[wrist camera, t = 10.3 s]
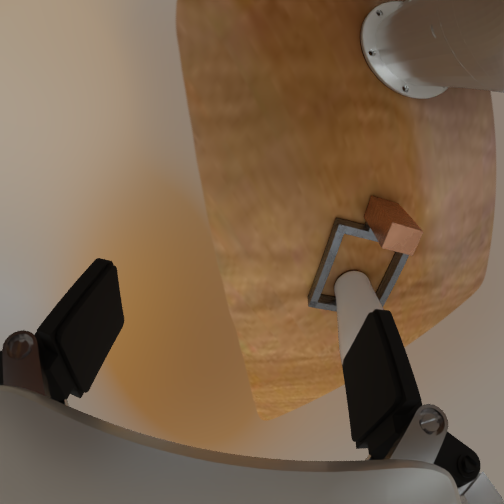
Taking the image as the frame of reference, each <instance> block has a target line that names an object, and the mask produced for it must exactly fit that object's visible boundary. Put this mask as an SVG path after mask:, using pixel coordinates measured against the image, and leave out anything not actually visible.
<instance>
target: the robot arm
mask: <svg viewBox="0 0 504 504" xmlns="http://www.w3.org/2000/svg"><path fill="white" fill-rule="evenodd" d="M376 13H378V14H379V16H378V15H377V14H376ZM361 46H362V51H363V54H364V57H365V59H366V62H367V63H368V65H369V67H370V68H371V70H372V71H373V73H374V74H375V75H376V76H377V78H378V79H379V80H380V81H382V82H383V83H384V84H385V85H386V86H387V87H389V88H390V89H392V90H393V91H395V92H397V93H399V94H401V95H403V96H407V97H411V98H418V99H428V98H432V97H436V96H438V95H439V94H441V93H443V92H444V91H445V90H447V88H448V87H455V88H468V89H479V90H487V91H496V92H504V0H406V1H404V2H402V1H390V2H386V3H383V4H381V5H379V6H377V7H375V8H374V9H373V10H372V11H371V12H370V13H369V14H368V15H367V16H366V18H365V20H364V22H363V24H362V28H361ZM368 52H371V53H372V55H369V53H368ZM402 87H404V90H402ZM123 324H124V315H123V310H122V303H121V297H120V290H119V282H118V275H117V268H116V266H113V263H112V261H109V260H105V259H100V258H98V259H96V260H95V261H94V262H93V263H92V264H91V265H90V266H89V268H88V269H87V270H86V271H85V272H84V273H83V274H82V275H81V277H80V278H79V279H78V280H77V281H76V282H75V283H74V285H73V286H72V287H71V288H70V289H69V290H68V292H67V293H66V294H65V295H64V297H63V298H62V299H61V300H60V301H59V302H58V304H57V305H56V306H55V308H54V309H53V310H52V311H51V313H50V314H49V315H48V316H47V317H46V319H45V320H44V321H43V323H42V324H41V325H40V327H39V328H38V329H37V332H36V333H35V335H34V334H32V333H31V332H29V331H24V330H23V331H17V332H14V333H13V334H11V335H10V336H9V337H8V338H7V339H6V340H5V342H4V344H3V349H2V351H0V504H504V501H503V499H502V497H501V496H500V494H499V493H498V492H497V490H496V489H495V487H494V486H493V485H492V483H491V482H490V480H489V479H488V478H487V476H486V475H485V474H484V472H482V473H479V471H480V460H479V457H478V456H477V454H476V453H475V452H474V451H473V450H471V449H470V448H469V447H467V446H466V445H465V444H463V443H462V442H460V441H459V440H458V439H456V438H455V437H454V436H452V435H451V434H450V433H448V432H447V429H448V420H447V417H446V415H445V414H444V412H443V411H442V410H441V409H440V408H439V407H437V406H435V405H430V404H426V405H423V406H422V402H421V397H420V394H419V391H418V387H417V384H416V381H415V378H414V375H413V372H412V369H411V366H410V363H409V360H408V357H407V354H406V351H405V348H404V346H403V343H402V340H401V337H400V335H399V332H398V329H397V327H396V324H395V322H394V319H393V317H392V314H391V312H390V311H388V310H380V309H375V310H374V311H373V312H370V313H369V314H368V315H367V317H366V319H365V321H364V323H363V325H362V327H361V329H360V330H359V332H358V334H357V336H356V338H355V340H354V342H353V343H352V345H351V347H350V349H349V351H348V352H347V354H346V356H345V358H344V360H343V365H342V367H343V374H344V381H345V387H346V394H347V402H348V410H349V418H350V426H351V436H352V440H353V441H354V442H356V448H358V449H359V448H368V450H369V455H368V457H367V458H366V460H365V461H295V460H280V459H268V458H258V457H250V456H242V455H235V454H228V453H222V452H217V451H211V450H206V449H201V448H196V447H191V446H187V445H182V444H178V443H174V442H170V441H166V440H163V439H159V438H155V437H152V436H148V435H144V434H141V433H138V432H135V431H132V430H129V429H126V428H123V427H120V426H117V425H114V424H112V423H109V422H106V421H103V420H101V419H98V418H96V417H93V416H91V415H88V414H85V413H83V412H81V411H78V410H76V409H73V408H71V407H69V405H68V401H67V398H68V396H69V394H72V395H74V396H76V397H79V398H81V397H82V395H83V393H84V392H85V393H86V392H88V391H89V389H90V387H91V385H92V383H93V381H94V379H95V377H96V375H97V373H98V371H99V370H100V368H101V366H102V364H103V362H104V360H105V358H106V356H107V354H108V352H109V351H110V349H111V347H112V345H113V343H114V342H115V340H116V338H117V336H118V334H119V332H120V331H121V329H122V327H123Z"/></svg>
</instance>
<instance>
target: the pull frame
mask: <svg viewBox="0 0 504 504" xmlns="http://www.w3.org/2000/svg"><path fill="white" fill-rule="evenodd" d="M364 218H365V220H366V223H365V225H364V224H360V223H356V222H352V221H348V220H344V219H340V218H336V220H335V223H334V226H333V229H332V232H331V235H330V237H329V240H328V243H327V246H326V249H325V252H324V255H323V257H322V260H321V263H320V266H319V269H318V271H317V274H316V277H315V279H314V282H313V285H312V287H311V290H310V293H309V295H308V307H314V308H319V309H325V310H331V311H337V307H336V297H331V296H326V295H321V292H322V290H323V287H324V285H325V282H326V280H327V277H328V275H329V272H330V270H331V267H332V264H333V262H334V259H335V257H336V254H337V251H338V249H339V246H340V243H341V240H342V238H343V235H344V234H349V235H353V236H357V237H361V238H365V239H369V240H373V241H377V242H379V244H380V245H381V247H382V248H384V249H388V250H392V251H396V253H395V255H394V257H393V259H392V261H391V264H390V266H389V268H388V270H387V272H386V274H385V276H384V278H383V280H382V282H381V284H380V286H379V288H378V290H377V292H376V295H377V297H378V299H379V301H380V303H381V305H382V307H383V305H384V304H385V302H386V300H387V298H388V296H389V294H390V292H391V291H392V289H393V287H394V285H395V283H396V281H397V279H398V277H399V275H400V273H401V271H402V269H403V267H404V265H405V263H406V261H407V258H408V256H409V255H411V256H413V254H414V251H415V249H416V247H417V245H418V243H419V240H420V238H421V236H422V234H423V231H422V229H421V228H420V227H419V226H418V225H417V224H416V223H415V221H414V220H413V219H412V218H411V217H410V216H409V215H408V214H407V213H406V211H405V210H404V209H403V208H402V207H401V206H400V205H399V204H398V203H395V202H391V201H388V200H385V199H382V198H378V197H375V196H372V195H371V198H370V201H369V204H368V207H367V209H366V212H365V215H364Z"/></svg>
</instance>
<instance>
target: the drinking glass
mask: <svg viewBox="0 0 504 504" xmlns="http://www.w3.org/2000/svg"><path fill="white" fill-rule="evenodd" d="M334 292H335V297H336V307H337V321H338V339H339V349H340V356H341V362H342V365H343V360H344V358H345V356H346V354H347V352H348V351H349V349H350V347H351V345H352V343H353V342H354V340H355V338H356V336H357V334H358V332H359V330H360V329H361V327H362V325H363V323H364V321H365V319H366V317H367V315H368V314H369V313H370V312H373V311H374V310H375V309H380V310H384V309H383V307H382V305H381V303H380V301H379V299H378V297H377V295H376V293H375V291H374V289H373V288H372V285H371V283H370V280H369V278H368V277H367V276H366V275H365V274H364V273H362V272H359V271H349V272H346V273H344V274H343V275H341V276H340V277H339V278H338V279H337V281H336V283H335V286H334Z"/></svg>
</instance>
